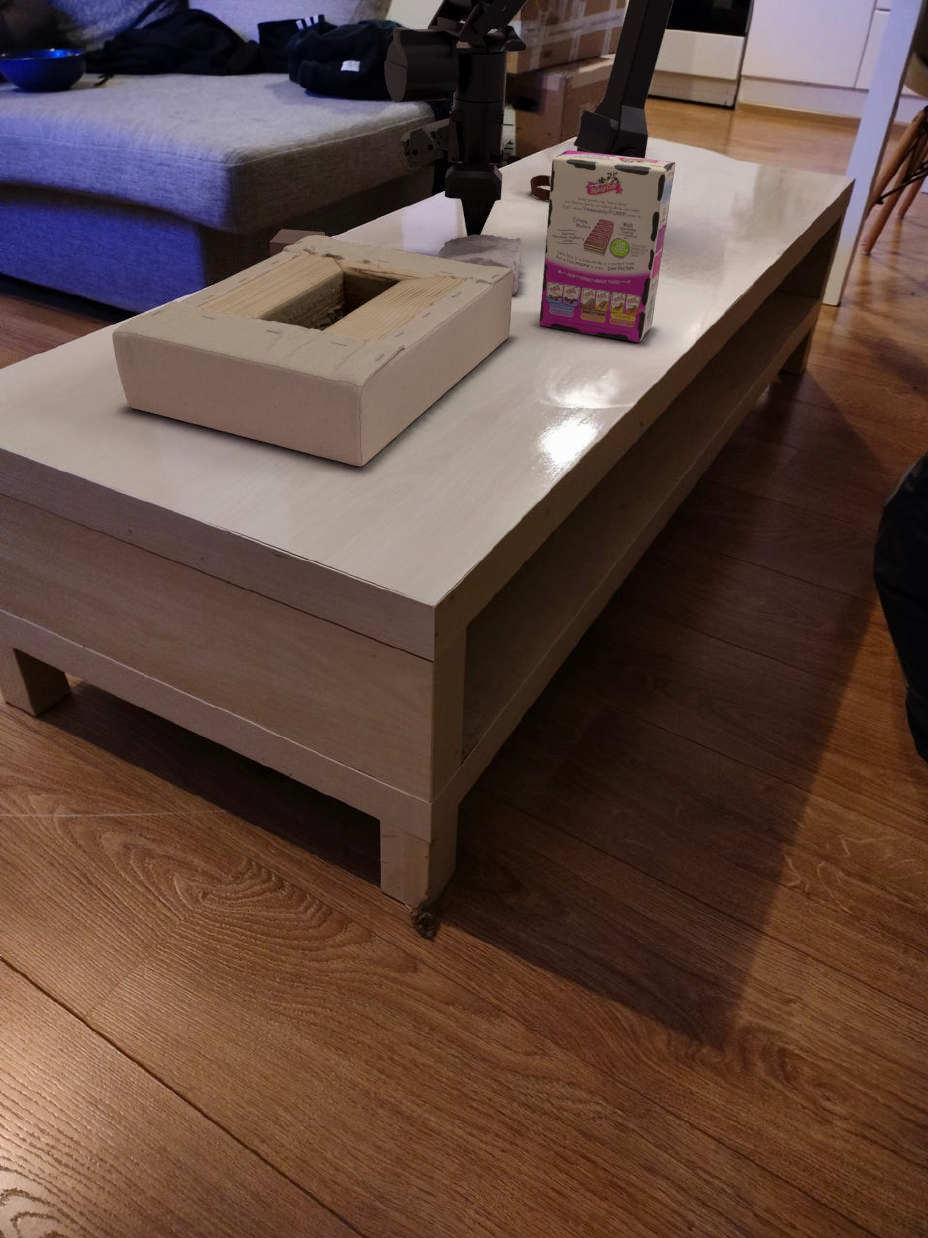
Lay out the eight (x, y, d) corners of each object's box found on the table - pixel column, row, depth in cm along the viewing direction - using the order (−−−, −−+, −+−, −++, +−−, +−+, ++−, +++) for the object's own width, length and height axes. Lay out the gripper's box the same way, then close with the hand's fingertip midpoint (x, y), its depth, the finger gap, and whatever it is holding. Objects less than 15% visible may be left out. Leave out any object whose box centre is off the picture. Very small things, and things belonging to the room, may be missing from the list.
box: (313, 299, 106) (121, 409, 82) (310, 225, 101) (105, 320, 77) (511, 340, 99) (365, 474, 75) (517, 263, 95) (364, 380, 71)
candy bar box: (652, 328, 102) (679, 160, 92) (641, 344, 98) (667, 171, 88) (551, 310, 105) (566, 146, 95) (536, 325, 101) (551, 156, 92)
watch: (582, 200, 143) (585, 174, 140) (563, 206, 140) (565, 179, 137) (541, 190, 146) (543, 164, 144) (521, 195, 144) (523, 169, 141)
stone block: (437, 308, 109) (525, 295, 108) (429, 264, 107) (519, 250, 105) (444, 278, 119) (525, 265, 118) (437, 237, 116) (520, 224, 115)
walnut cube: (284, 273, 112) (281, 228, 109) (327, 276, 111) (325, 231, 108) (272, 287, 108) (269, 241, 105) (316, 291, 107) (314, 244, 104)
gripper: (413, 78, 115) (412, 215, 124) (398, 110, 100) (398, 263, 110) (507, 83, 114) (499, 220, 124) (506, 116, 100) (496, 269, 109)
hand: (472, 242), depth 117 cm, fingers closed
